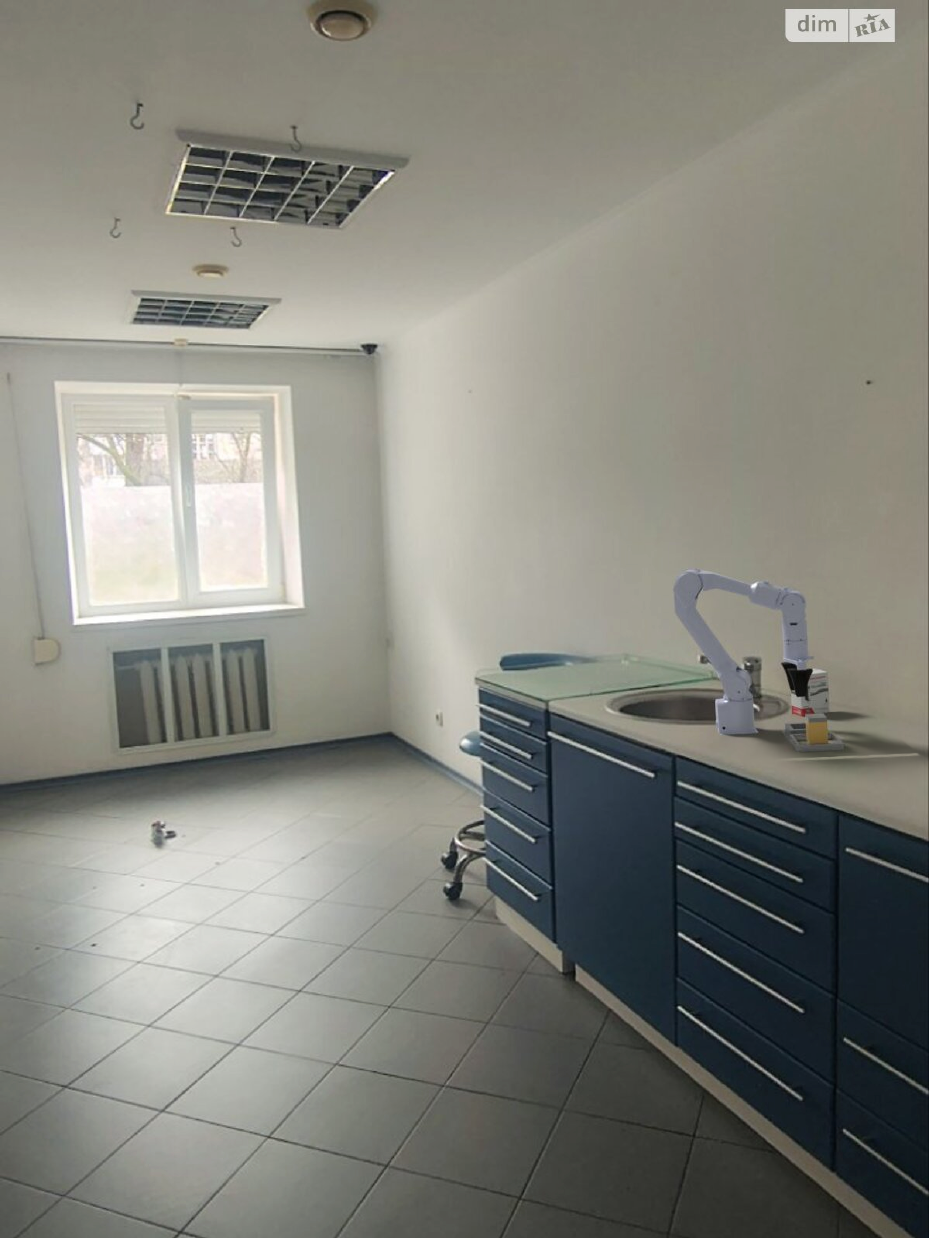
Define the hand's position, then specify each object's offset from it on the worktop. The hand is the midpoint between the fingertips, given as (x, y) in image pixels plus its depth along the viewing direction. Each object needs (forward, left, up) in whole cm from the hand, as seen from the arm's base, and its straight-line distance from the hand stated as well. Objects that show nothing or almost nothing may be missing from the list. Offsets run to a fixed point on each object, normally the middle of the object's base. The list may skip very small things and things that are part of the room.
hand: (797, 693), depth 217 cm
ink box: (+6, +17, -10) cm, 21 cm away
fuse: (+1, -14, -9) cm, 17 cm away
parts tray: (+1, -14, -10) cm, 17 cm away
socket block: (0, -4, -10) cm, 11 cm away
